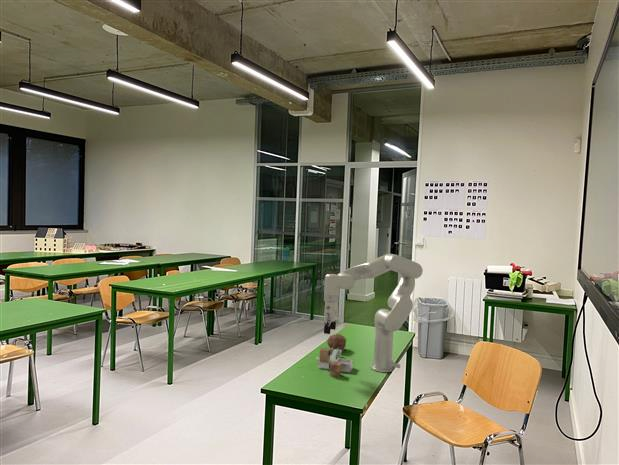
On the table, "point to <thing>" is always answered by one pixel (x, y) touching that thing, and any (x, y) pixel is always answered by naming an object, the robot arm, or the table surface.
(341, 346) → the decorative rock
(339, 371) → the wood grain cube
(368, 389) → the table surface
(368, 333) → the table surface
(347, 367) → the white desk organizer
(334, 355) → the metal bracket
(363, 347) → the table surface
